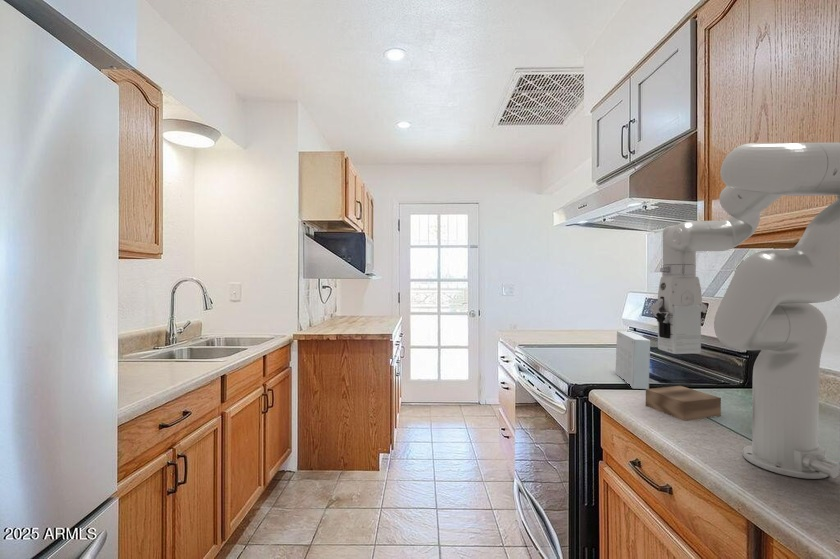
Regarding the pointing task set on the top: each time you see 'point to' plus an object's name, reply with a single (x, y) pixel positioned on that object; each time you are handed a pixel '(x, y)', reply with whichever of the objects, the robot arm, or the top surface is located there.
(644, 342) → the skincare box
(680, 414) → the walnut block
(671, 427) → the top surface
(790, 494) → the top surface
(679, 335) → the supplement box
